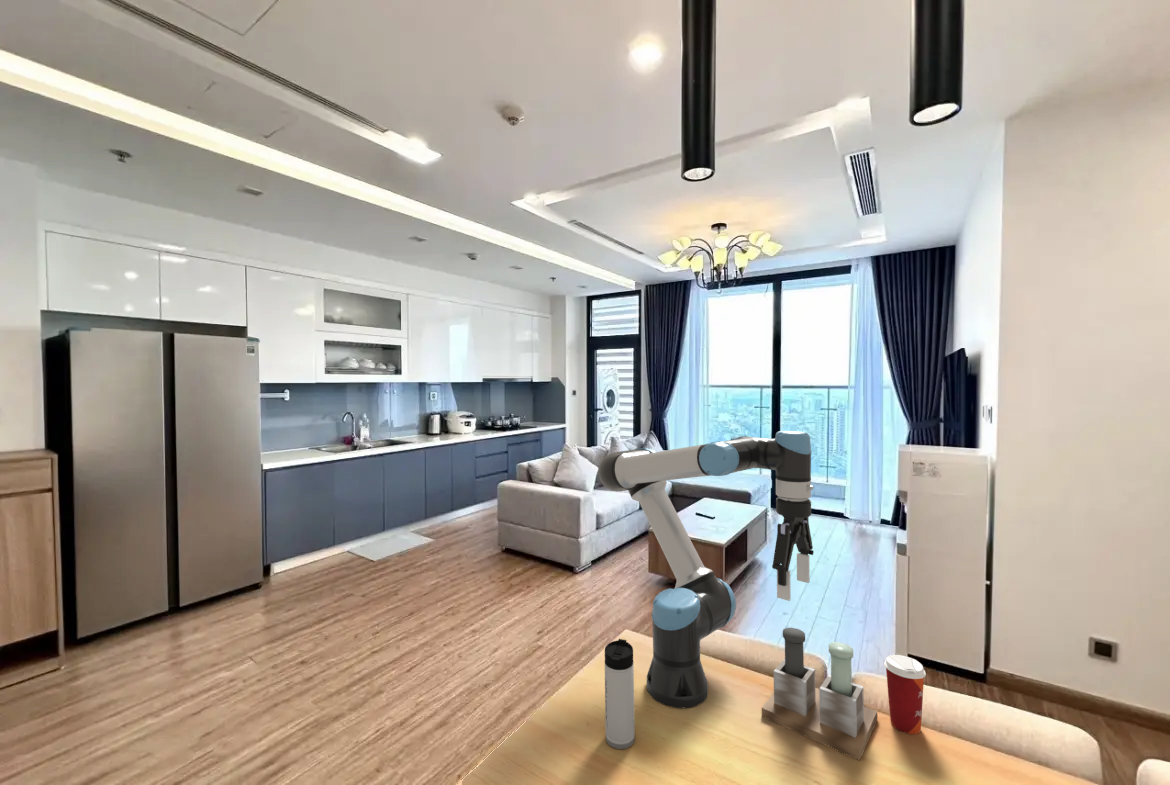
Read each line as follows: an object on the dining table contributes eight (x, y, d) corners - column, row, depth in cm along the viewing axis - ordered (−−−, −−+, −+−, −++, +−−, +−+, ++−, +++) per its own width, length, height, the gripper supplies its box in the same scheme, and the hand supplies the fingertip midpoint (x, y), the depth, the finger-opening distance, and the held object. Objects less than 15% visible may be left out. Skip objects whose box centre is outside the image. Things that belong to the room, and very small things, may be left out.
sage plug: (826, 699, 105) (825, 648, 105) (832, 689, 109) (832, 639, 109) (850, 708, 102) (850, 656, 102) (856, 698, 105) (855, 647, 105)
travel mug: (637, 731, 106) (636, 640, 106) (630, 752, 100) (629, 656, 100) (610, 725, 108) (609, 636, 108) (601, 746, 102) (600, 651, 102)
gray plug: (780, 681, 112) (779, 633, 112) (787, 672, 115) (787, 625, 115) (801, 689, 109) (801, 640, 109) (808, 680, 112) (808, 632, 112)
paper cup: (933, 740, 102) (932, 674, 102) (893, 735, 104) (892, 670, 104) (916, 715, 110) (915, 654, 110) (879, 711, 111) (878, 651, 111)
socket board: (761, 716, 110) (761, 675, 110) (787, 684, 122) (786, 647, 122) (859, 760, 97) (858, 713, 97) (877, 719, 109) (876, 677, 109)
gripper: (791, 510, 100) (791, 612, 100) (826, 491, 118) (826, 578, 119) (756, 504, 105) (756, 602, 105) (795, 487, 123) (795, 570, 124)
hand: (793, 589), depth 112 cm, fingers open, 12 cm apart
